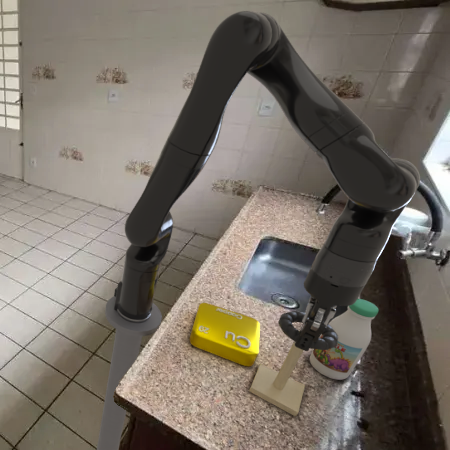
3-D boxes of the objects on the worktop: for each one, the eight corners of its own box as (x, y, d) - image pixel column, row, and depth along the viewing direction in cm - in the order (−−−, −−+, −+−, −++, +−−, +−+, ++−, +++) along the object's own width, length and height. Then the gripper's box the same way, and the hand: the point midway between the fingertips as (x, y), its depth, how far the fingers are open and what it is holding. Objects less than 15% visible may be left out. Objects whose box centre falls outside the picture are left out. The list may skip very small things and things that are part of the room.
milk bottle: (320, 351, 90) (355, 289, 81) (355, 374, 84) (397, 311, 74) (301, 360, 88) (334, 298, 78) (335, 385, 81) (376, 321, 72)
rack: (248, 391, 80) (269, 346, 73) (258, 367, 86) (278, 323, 79) (295, 416, 75) (323, 370, 68) (302, 389, 80) (328, 344, 73)
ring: (273, 334, 71) (276, 326, 70) (282, 310, 77) (285, 303, 76) (332, 360, 66) (337, 352, 64) (337, 332, 72) (342, 324, 71)
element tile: (255, 331, 96) (261, 318, 94) (253, 370, 85) (259, 356, 83) (197, 311, 103) (200, 298, 101) (187, 344, 92) (191, 331, 90)
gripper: (317, 249, 68) (286, 316, 76) (306, 281, 59) (272, 354, 67) (369, 263, 63) (330, 333, 71) (364, 301, 54) (321, 376, 62)
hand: (302, 343), depth 69 cm, fingers closed on ring, 2 cm apart
